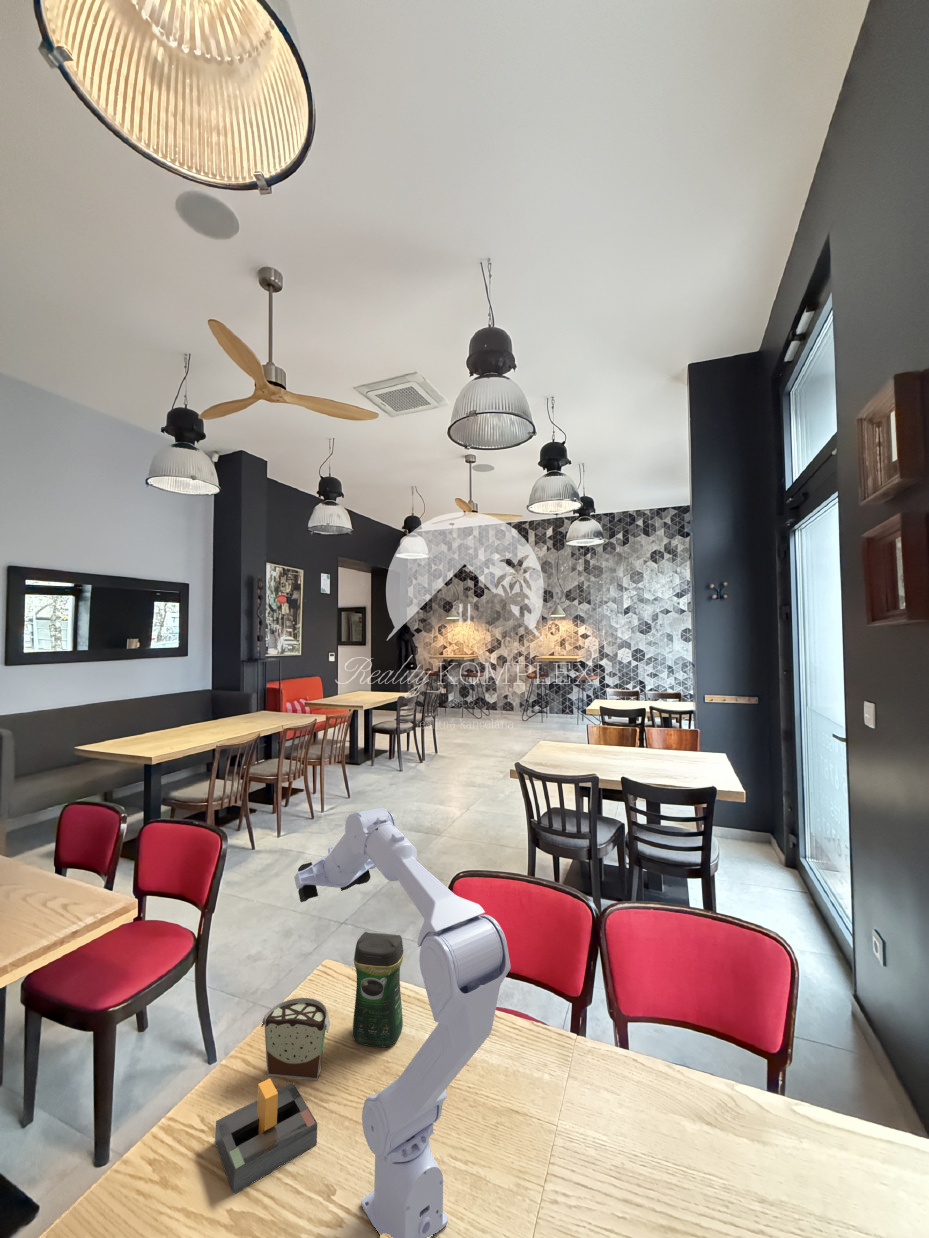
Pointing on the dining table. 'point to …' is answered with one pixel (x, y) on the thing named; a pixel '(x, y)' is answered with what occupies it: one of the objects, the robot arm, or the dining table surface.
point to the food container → (295, 1038)
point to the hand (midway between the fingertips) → (321, 890)
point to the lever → (267, 1105)
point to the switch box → (264, 1138)
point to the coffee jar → (378, 989)
